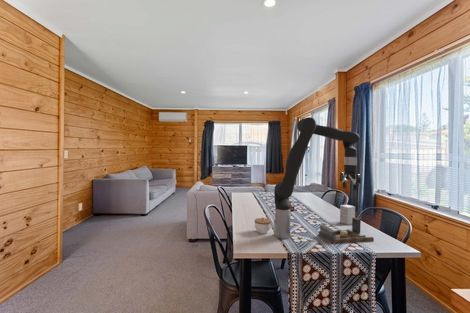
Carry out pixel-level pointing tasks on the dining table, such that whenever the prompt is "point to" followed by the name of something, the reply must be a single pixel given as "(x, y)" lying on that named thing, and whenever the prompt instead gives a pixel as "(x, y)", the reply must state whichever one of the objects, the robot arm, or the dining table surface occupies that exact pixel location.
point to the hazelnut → (343, 234)
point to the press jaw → (355, 228)
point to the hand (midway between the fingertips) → (349, 189)
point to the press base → (335, 236)
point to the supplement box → (347, 214)
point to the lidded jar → (262, 225)
